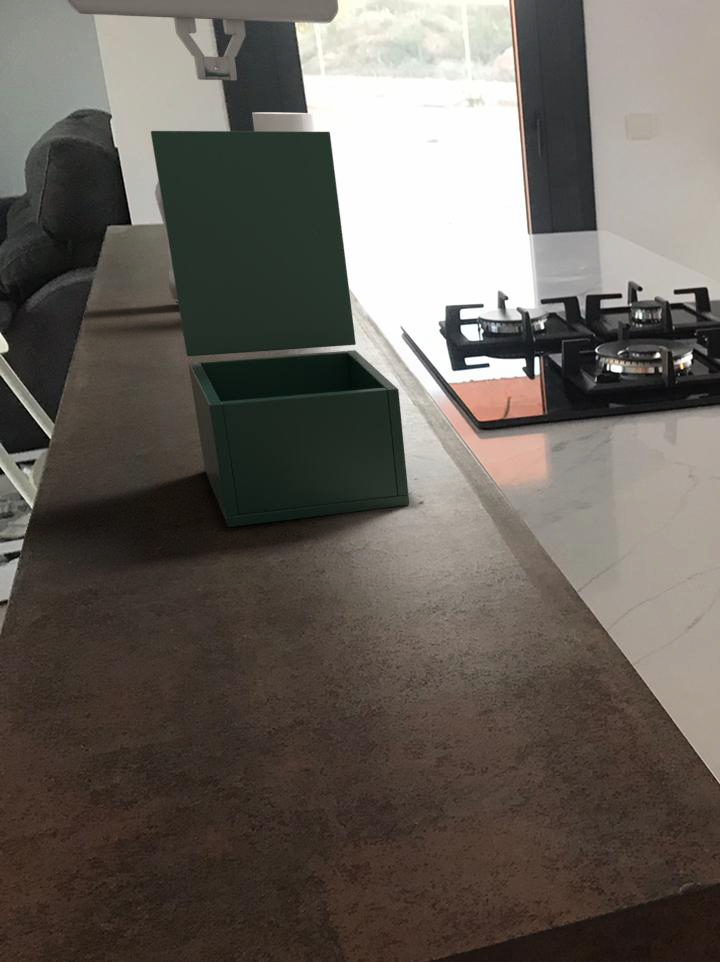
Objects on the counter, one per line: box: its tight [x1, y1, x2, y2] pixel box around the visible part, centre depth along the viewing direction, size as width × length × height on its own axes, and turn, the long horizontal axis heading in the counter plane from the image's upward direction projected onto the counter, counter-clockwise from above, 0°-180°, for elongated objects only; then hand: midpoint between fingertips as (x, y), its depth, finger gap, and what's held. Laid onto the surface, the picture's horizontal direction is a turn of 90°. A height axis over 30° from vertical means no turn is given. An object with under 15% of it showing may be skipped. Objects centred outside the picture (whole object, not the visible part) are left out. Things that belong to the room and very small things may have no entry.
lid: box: [150, 130, 357, 357], centre depth 100 cm, size 16×13×1 cm
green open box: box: [187, 349, 410, 528], centre depth 97 cm, size 16×13×9 cm
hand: (217, 80), depth 106 cm, fingers closed
